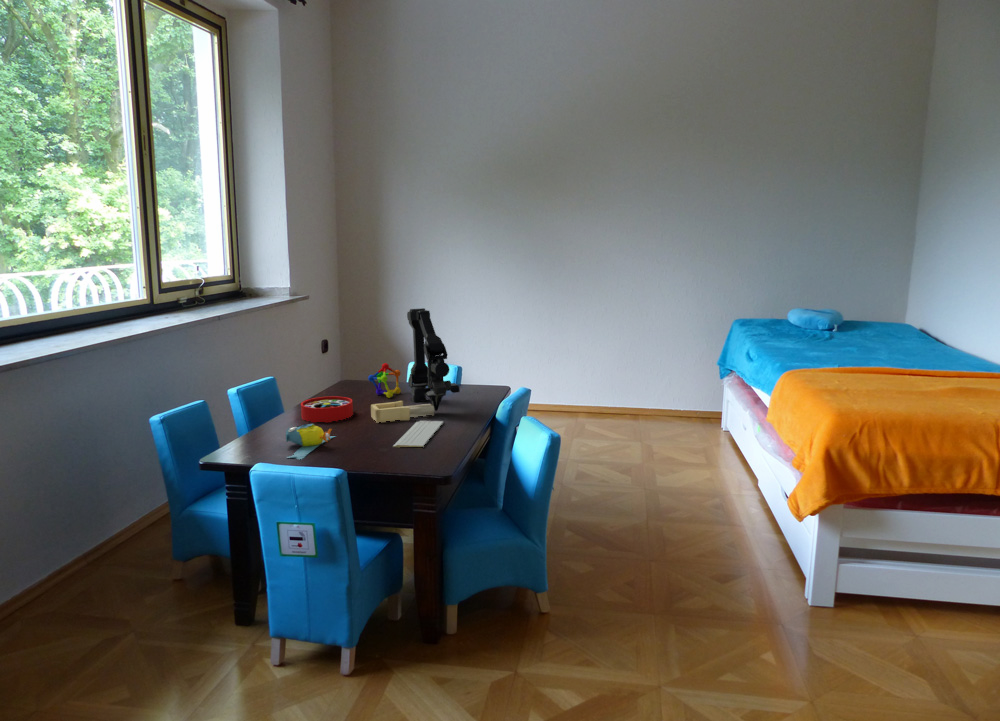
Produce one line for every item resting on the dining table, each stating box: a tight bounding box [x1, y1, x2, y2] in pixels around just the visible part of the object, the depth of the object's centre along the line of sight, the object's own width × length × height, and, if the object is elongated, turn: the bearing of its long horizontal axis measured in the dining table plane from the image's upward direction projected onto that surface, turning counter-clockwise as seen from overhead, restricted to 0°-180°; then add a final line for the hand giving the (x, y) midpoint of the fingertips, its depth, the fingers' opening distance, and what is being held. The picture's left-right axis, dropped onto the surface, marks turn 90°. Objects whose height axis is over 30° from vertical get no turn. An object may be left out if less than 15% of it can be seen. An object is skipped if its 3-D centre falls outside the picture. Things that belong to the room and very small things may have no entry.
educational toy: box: [367, 362, 402, 399], centre depth 315 cm, size 16×13×15 cm
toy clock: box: [300, 395, 354, 423], centre depth 283 cm, size 20×6×20 cm
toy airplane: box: [285, 422, 337, 460], centre depth 243 cm, size 28×9×15 cm
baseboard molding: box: [392, 416, 444, 448], centre depth 256 cm, size 31×3×12 cm
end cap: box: [370, 400, 411, 424], centre depth 278 cm, size 13×13×5 cm
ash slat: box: [393, 403, 435, 418], centre depth 280 cm, size 5×22×4 cm, turn 112°
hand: (436, 410), depth 285 cm, fingers closed
